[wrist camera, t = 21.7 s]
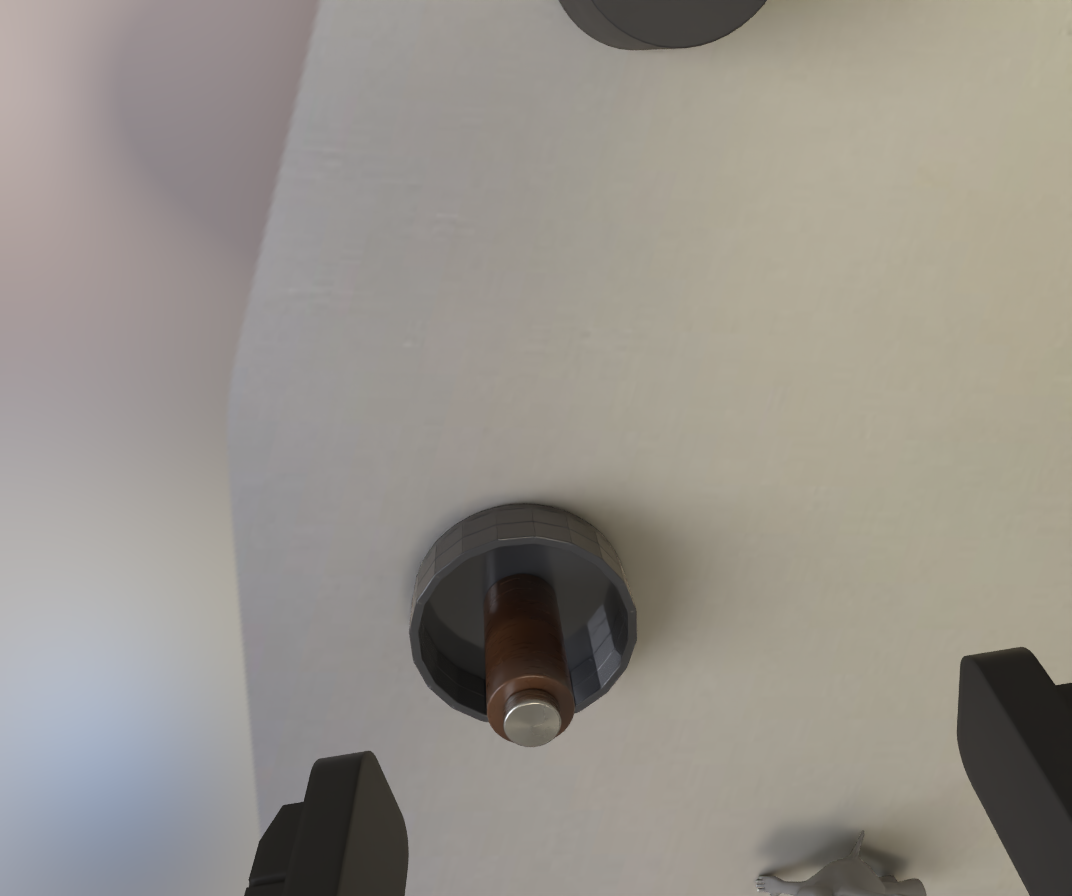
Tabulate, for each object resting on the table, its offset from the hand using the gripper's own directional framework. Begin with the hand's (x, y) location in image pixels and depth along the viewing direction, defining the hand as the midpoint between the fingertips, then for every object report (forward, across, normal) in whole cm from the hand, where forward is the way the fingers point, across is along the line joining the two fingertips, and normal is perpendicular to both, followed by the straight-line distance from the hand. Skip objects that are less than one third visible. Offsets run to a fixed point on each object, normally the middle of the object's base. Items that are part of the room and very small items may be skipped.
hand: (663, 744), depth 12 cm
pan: (+23, +6, +16) cm, 29 cm away
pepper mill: (+23, +6, +16) cm, 29 cm away
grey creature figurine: (+22, -8, +37) cm, 44 cm away
